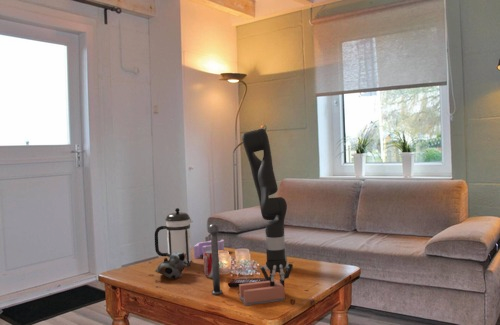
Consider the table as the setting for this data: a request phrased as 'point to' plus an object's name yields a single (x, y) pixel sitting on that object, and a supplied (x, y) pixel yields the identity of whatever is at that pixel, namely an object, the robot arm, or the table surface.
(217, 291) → the stand
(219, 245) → the clip
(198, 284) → the table surface
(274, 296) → the c link
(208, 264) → the soda can
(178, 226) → the coffee press
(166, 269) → the dark grey lumpy piece
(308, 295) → the table surface
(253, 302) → the felt mat
